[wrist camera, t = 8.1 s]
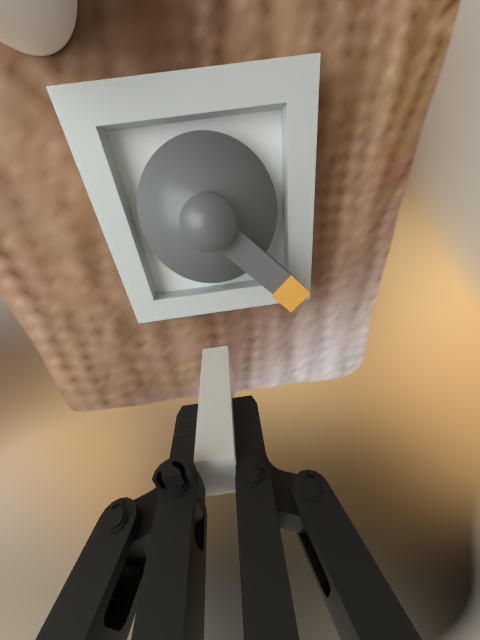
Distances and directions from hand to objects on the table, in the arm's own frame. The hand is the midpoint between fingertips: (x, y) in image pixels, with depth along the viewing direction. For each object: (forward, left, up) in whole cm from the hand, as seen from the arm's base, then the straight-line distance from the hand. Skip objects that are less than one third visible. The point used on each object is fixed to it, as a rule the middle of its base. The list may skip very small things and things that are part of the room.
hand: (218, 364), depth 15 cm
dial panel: (-7, 0, -17) cm, 18 cm away
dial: (-5, +2, -15) cm, 16 cm away
